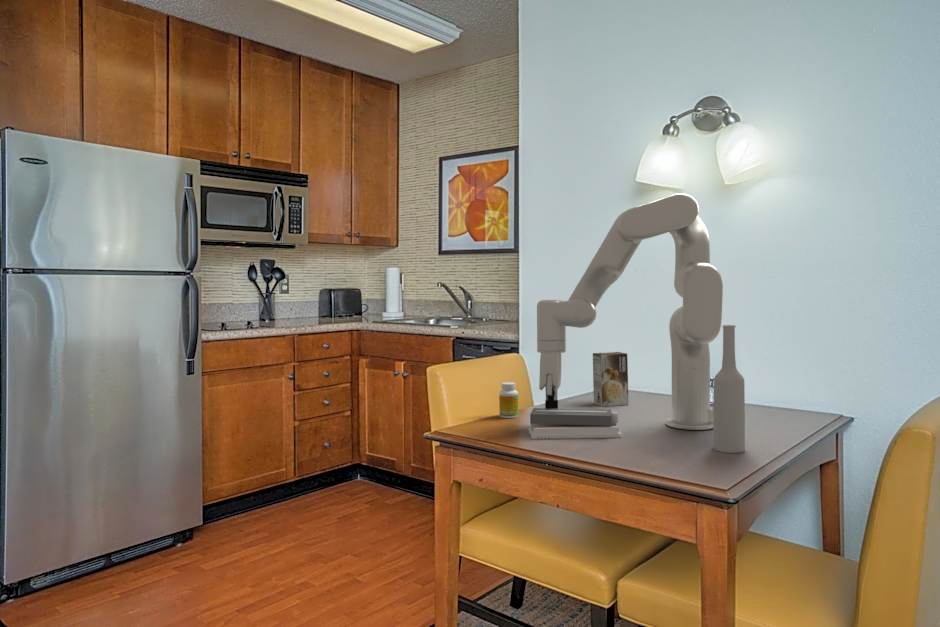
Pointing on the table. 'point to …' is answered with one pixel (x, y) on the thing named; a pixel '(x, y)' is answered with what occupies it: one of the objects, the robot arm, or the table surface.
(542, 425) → the duct base
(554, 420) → the block
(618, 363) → the coffee box
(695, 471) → the table surface
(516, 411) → the supplement bottle
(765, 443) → the table surface
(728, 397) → the bottle
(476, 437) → the table surface
